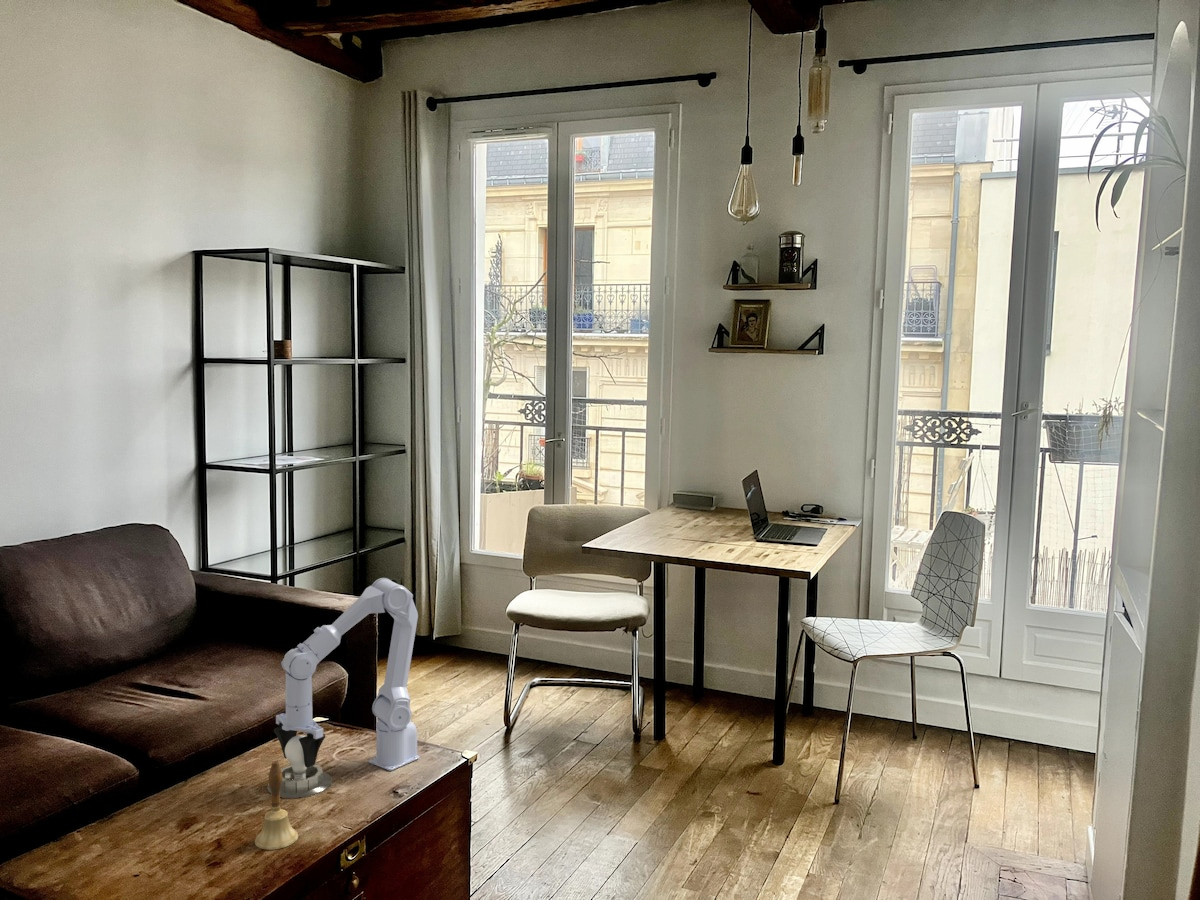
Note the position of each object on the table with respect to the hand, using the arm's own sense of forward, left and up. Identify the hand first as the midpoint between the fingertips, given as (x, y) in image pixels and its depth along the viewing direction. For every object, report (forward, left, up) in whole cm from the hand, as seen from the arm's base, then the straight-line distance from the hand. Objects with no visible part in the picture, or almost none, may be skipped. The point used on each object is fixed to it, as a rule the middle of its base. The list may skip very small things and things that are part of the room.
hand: (299, 761), depth 212 cm
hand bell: (+18, +17, -6) cm, 25 cm away
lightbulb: (0, 0, -5) cm, 5 cm away
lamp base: (0, 0, -5) cm, 5 cm away
